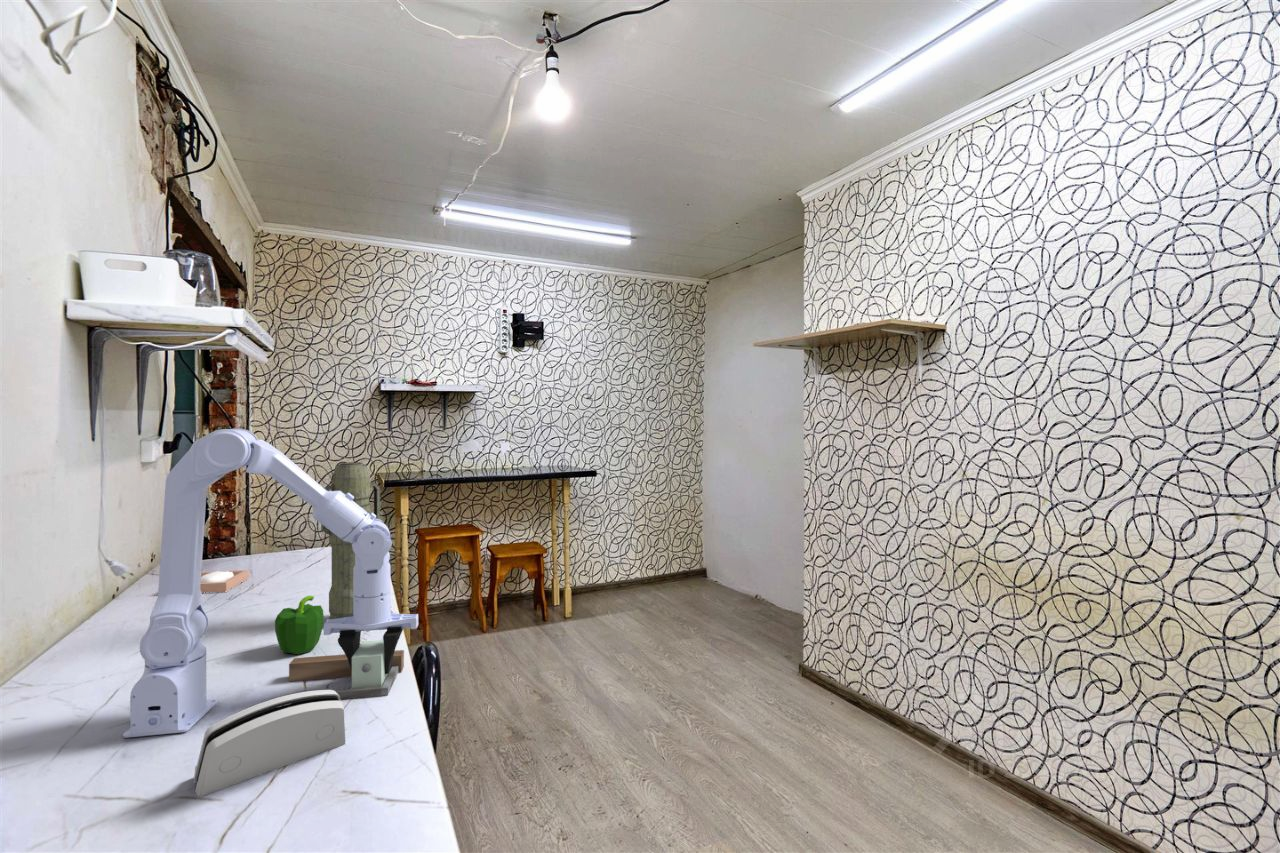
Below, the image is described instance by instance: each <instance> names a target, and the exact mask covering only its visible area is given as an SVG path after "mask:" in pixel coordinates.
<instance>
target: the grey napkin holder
mask: <svg viewBox="0 0 1280 853" xmlns="http://www.w3.org/2000/svg"><path fill="white" fill-rule="evenodd" d="M344 707H345V706H344V702H342V700H341V699H340V696H339V695H338V692H336V690H333V689H317V690H308V691H303V692H302V691H301V692H296V693H291V694H288V695H287V694H286V695H282V696H279V697H275V698H273V699H269V700H267V701H263V702H260V703H257V704H255V705H252V706H249V707H248V708H244V709H242V710H240V711H238V712H236V713H233V714H231V715H229V716H227V717H225V718H224V719H222V720H219V721H217V722H216V723H214V724H212V725H210V726H209V727H207V729H206V730H205V732H204V735H203V740H202V743H201V748H200V752H199V756H198V759H197V764H196V765H195V767H194V777H193V784H195V783H196V787H195V791H194V792H195V794H196V796H198V797H199V798H200V797H203V796H206V795H208V794H211V793H213V792H216V791H220V790H223V789H225V788H228V787H230V786H233V785H235V784H239V783H242V782H245V781H247V780H250V779H253V778H256V777H258V776H261V775H264V774H267V773H269V772H271V771H275V770H277V769H280V768H283V767H285V766H288V765H292V764H294V763H297V762H299V761H302V760H306V759H308V758H311V757H312V756H316V755H319V754H321V753H324V752H328V751H330V750H333V749H335V748H338V747H341V746H344V745H346V726H345V725H346V723H345V708H344Z"/></svg>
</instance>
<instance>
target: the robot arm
mask: <svg viewBox="0 0 1280 853" xmlns="http://www.w3.org/2000/svg"><path fill="white" fill-rule="evenodd" d="M246 466H247V468H246V469H245V473H247V474H248V473H249V474H255V475H262V476H263V475H264V476H269V477H271V478H272V479H274V480H275V481H276V482H278V483H279V484H280V485H282V486H283V487H285V488H286V489H287V490H289V491H290V492H292V493H293V494H295V495H296V496H297V497H299V498H301V500H303V501H305V502H306V503H307V504H308V505H309V506H311V508H312V518H313V519H314V520H315V521H317V522H318V523H319V524H320V525H321V524H322V525H323V526H325V527H326V528H327V529H329V530H330V531H331V532H333V533H334V534H335V535H337V536H338V537H339V538H340V539H342V540H343V541H346V542H350V543H353V544H352V548H353V551H354V553H355V566H354V569H353V616H352V617H346V618H339V619H331V620H330V619H326V621H325V622H323V635H324V636H328V635H331V634H337V633H339V635H338V638H337V643H338V645H339V647H340V648H341V649H342V651H343V653H344V654H345V655H346V657H347V659H348V661H349V664H350V668H351V672H352V657H353V655H354V654H355V652H356V651H357V649H358V648H359V646H360V645H361V635H362V634H361V633H362V632H368V631H384V630H386V631H385V632H384V633H383V635H382V640H383V641H384V652H385V659H384V669H385V674H388V673H389V672H390V670H391V664H392V659H393V655H394V651H396V648H397V645H398V642H399V639H400V638H401V635H402V633H403V630H404V629H409V630H416V629H418V626H419V613H413V614H411V613H409V614H408V613H393V612H392V613H391V563H390V562H389V561H390V560H391V554H390V550H391V548H392V544H393V541H392V539H391V532H390V529H389V527H388V526H387V525H386V524H385V523H384V521H383V520H381V519H380V520H379V519H375V518H376V515H375V514H374V512H372V513H371V514H369V513H367V512H366V511H365V510H364V509H363V508H361V507H360V506H359V505H358V504H356V503H355V502H354V501H352V500H353V499H354V496H353V495H351V494H350V493H347V494H346V495H345V494H344V493H342V492H341V491H332V490H330V491H326V490H325V489H324V488H325V487H324V486H322V485H321V484H319V482H318V481H316V480H315V479H314V478H312V477H311V476H310V475H309V474H308V473H307V472H306V471H304V470H303V469H302V468H301V467H299V466H298V465H297V464H296V463H295V462H293V461H292V460H291V459H290V458H289V457H288V456H286V455H285V454H284V453H283V452H282V451H280V450H279V449H278V448H276V447H274V446H273V445H272V444H271V443H269V442H267V441H265V440H263V439H259V438H258V436H256V435H255V433H253V432H251V431H250V430H248V429H244V428H240V427H238V428H230V429H228V428H226V429H225V428H223V429H218V430H214V431H212V432H210V433H208V434H206V435H204V436H201V438H199V439H197V440H195V441H194V442H193V443H192V445H191V446H190V448H189V450H187V452H186V453H185V454H184V455H183V456H182V457H181V458H180V459H179V461H178V462H177V463H176V464H175V466H174V467H173V468H172V469H171V470H170V471H169V472H168V473H167V475H166V479H165V484H164V485H165V487H164V500H163V501H164V502H163V514H162V516H163V517H162V518H163V519H162V531H161V544H160V546H161V547H160V559H159V560H160V561H159V574H158V575H159V576H158V588H157V598H156V600H155V603H154V606H153V608H152V610H151V613H150V616H149V623H148V624H149V625H148V628H147V630H146V632H145V633H144V635H143V636H142V638H141V640H140V642H139V653H140V655H141V657H142V659H143V660H144V671H143V674H142V676H141V677H140V678H139V679H138V681H137V682H136V683H134V686H133V687H132V688H131V691H130V695H129V696H130V698H129V699H130V700H129V701H130V702H129V703H130V706H129V709H130V710H129V711H130V712H129V713H130V717H129V718H130V720H129V721H130V722H129V724H130V728H129V729H128V730H126V731H125V732H124V733H122V737H123V738H124V739H126V738H134V737H135V738H137V737H146V736H157V735H167V734H168V735H169V734H177V733H179V734H180V733H185V732H188V731H189V730H190V729H191V728H192V727H193V726H195V724H196V723H198V722H199V721H200V719H202V718H203V717H204V716H205V715H206V714H207V713H208V712H209V711H210V710H212V708H213V707H214V706H216V705H217V703H219V701H220V699H219V698H218V697H216V698H207V647H206V646H205V645H204V644H203V642H202V637H204V636H205V634H206V633H207V631H208V629H209V625H210V621H209V620H210V619H209V615H208V614H207V612H206V610H205V609H204V595H203V594H202V593H201V590H200V583H201V572H202V568H203V566H202V564H203V551H204V550H203V549H204V539H205V538H204V537H205V536H204V534H205V520H206V519H205V518H206V506H207V493H208V492H207V489H209V487H210V486H212V485H213V484H214V483H217V481H218V480H220V479H221V478H223V477H225V476H226V474H228V473H231V472H233V471H236V470H239V469H241V468H243V467H246Z"/></svg>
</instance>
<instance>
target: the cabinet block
mask: <svg viewBox="0 0 1280 853" xmlns="http://www.w3.org/2000/svg"><path fill="white" fill-rule="evenodd" d="M384 659H385V652H384V641H383V639H380V640H379V639H377V640H365V641H362V642H360V646H359V648H358V649H357V651H356V652H355V654H354V655H353V657H352V676H351V689H356V688H367V687H379V686H383V684H384V682H385V680H386V678H387V676H388V674H389V673H388V674H385V669H384Z"/></svg>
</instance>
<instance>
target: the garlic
mask: <svg viewBox="0 0 1280 853" xmlns="http://www.w3.org/2000/svg"><path fill="white" fill-rule="evenodd" d="M219 571H220V570H217V572H212V571H211V572H212V573H209V574H206V575H204V576H202V577H201V583H210V582H224V581H226V580H228V579H230V578H232V577H233V576H234V574H233V573H232V572H229V571H230V570H226V571H227V572H219Z"/></svg>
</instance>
